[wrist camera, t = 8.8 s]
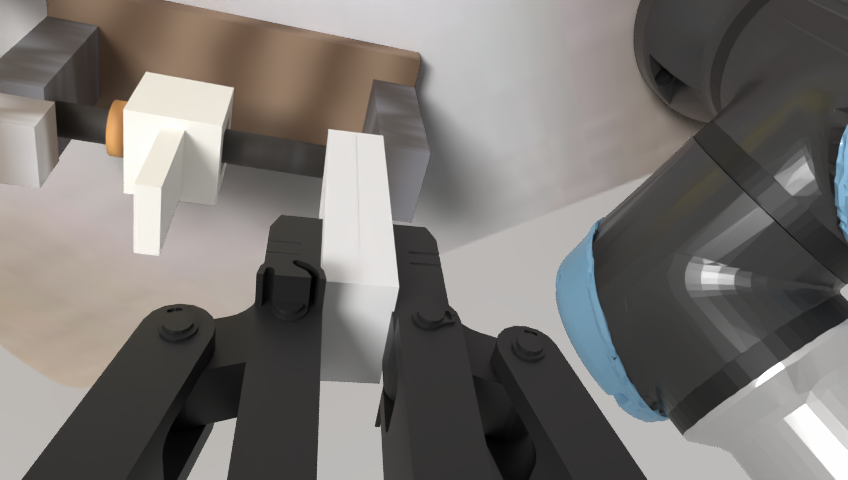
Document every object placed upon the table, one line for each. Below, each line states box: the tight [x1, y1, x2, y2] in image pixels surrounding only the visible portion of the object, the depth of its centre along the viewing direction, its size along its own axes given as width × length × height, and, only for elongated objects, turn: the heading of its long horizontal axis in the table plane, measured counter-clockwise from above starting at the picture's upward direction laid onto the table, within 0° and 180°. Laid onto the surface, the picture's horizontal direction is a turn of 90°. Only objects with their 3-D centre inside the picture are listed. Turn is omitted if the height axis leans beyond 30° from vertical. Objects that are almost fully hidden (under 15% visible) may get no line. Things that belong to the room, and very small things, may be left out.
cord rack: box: [0, 0, 431, 223], centre depth 41 cm, size 24×9×14 cm, turn 76°
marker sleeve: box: [123, 72, 234, 256], centre depth 36 cm, size 5×5×11 cm
